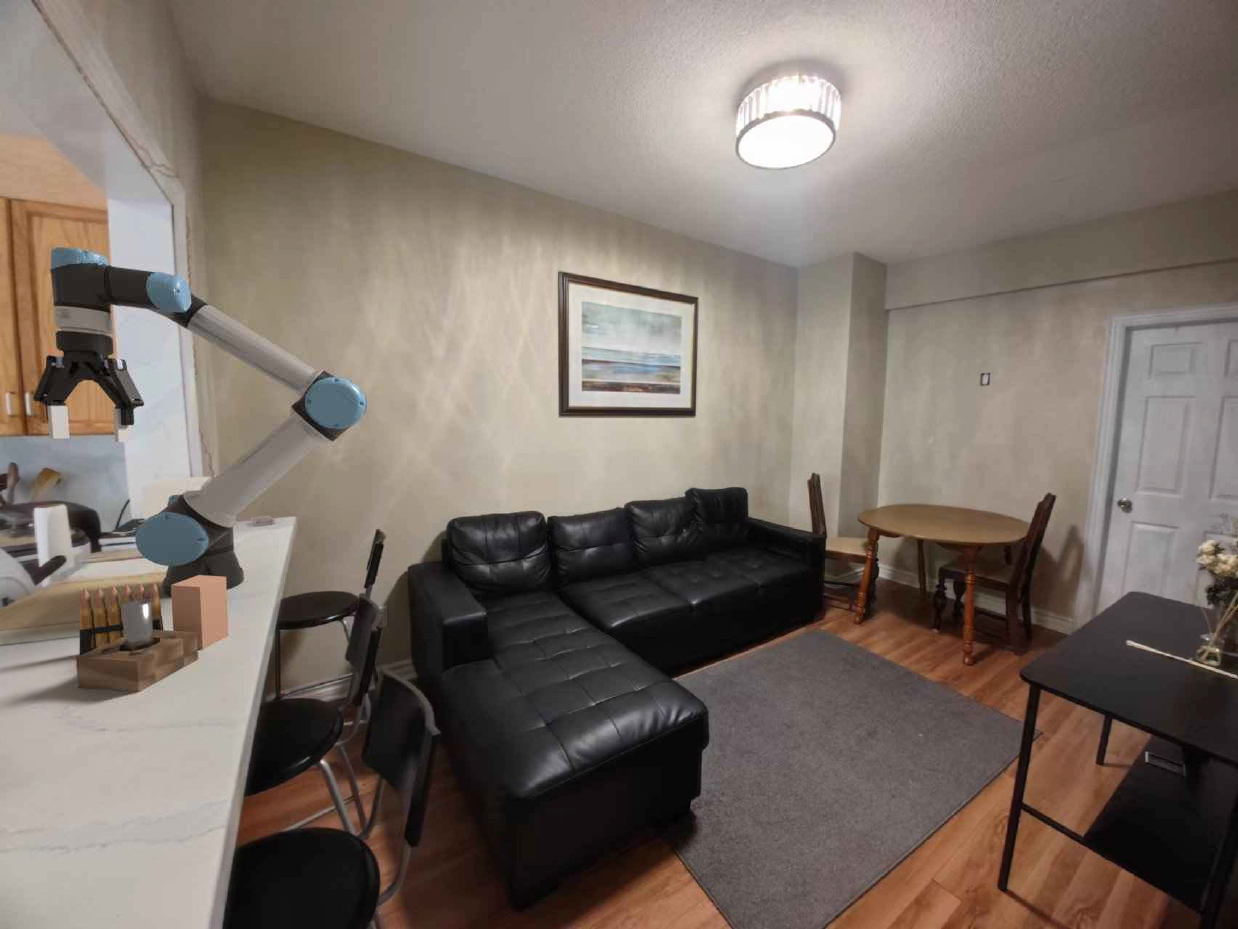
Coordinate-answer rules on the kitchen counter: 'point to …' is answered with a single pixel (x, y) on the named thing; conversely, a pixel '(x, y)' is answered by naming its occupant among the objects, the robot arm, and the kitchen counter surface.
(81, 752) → the kitchen counter surface
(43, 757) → the kitchen counter surface
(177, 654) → the bore block
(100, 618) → the ammunition clip
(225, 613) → the square peg
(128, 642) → the round peg
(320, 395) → the robot arm
